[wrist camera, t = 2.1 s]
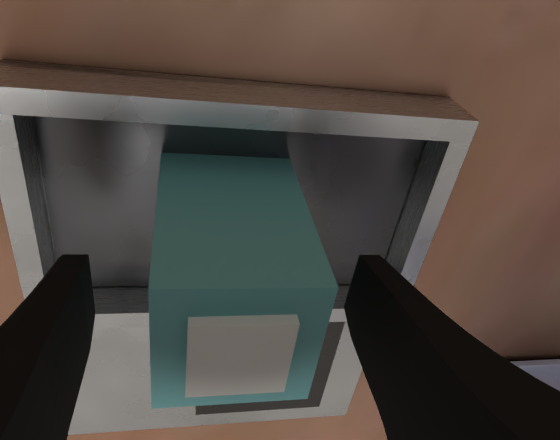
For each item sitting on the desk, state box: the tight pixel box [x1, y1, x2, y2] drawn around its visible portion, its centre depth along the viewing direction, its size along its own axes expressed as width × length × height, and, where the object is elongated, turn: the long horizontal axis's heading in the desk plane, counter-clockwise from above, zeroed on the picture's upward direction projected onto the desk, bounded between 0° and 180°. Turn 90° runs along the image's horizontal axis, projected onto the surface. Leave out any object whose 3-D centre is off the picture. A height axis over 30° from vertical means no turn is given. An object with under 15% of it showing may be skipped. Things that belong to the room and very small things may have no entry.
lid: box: [68, 322, 362, 435], centre depth 21 cm, size 13×8×1 cm, turn 82°
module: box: [148, 153, 339, 409], centre depth 13 cm, size 4×4×6 cm
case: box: [0, 60, 479, 328], centre depth 16 cm, size 13×8×2 cm, turn 82°
